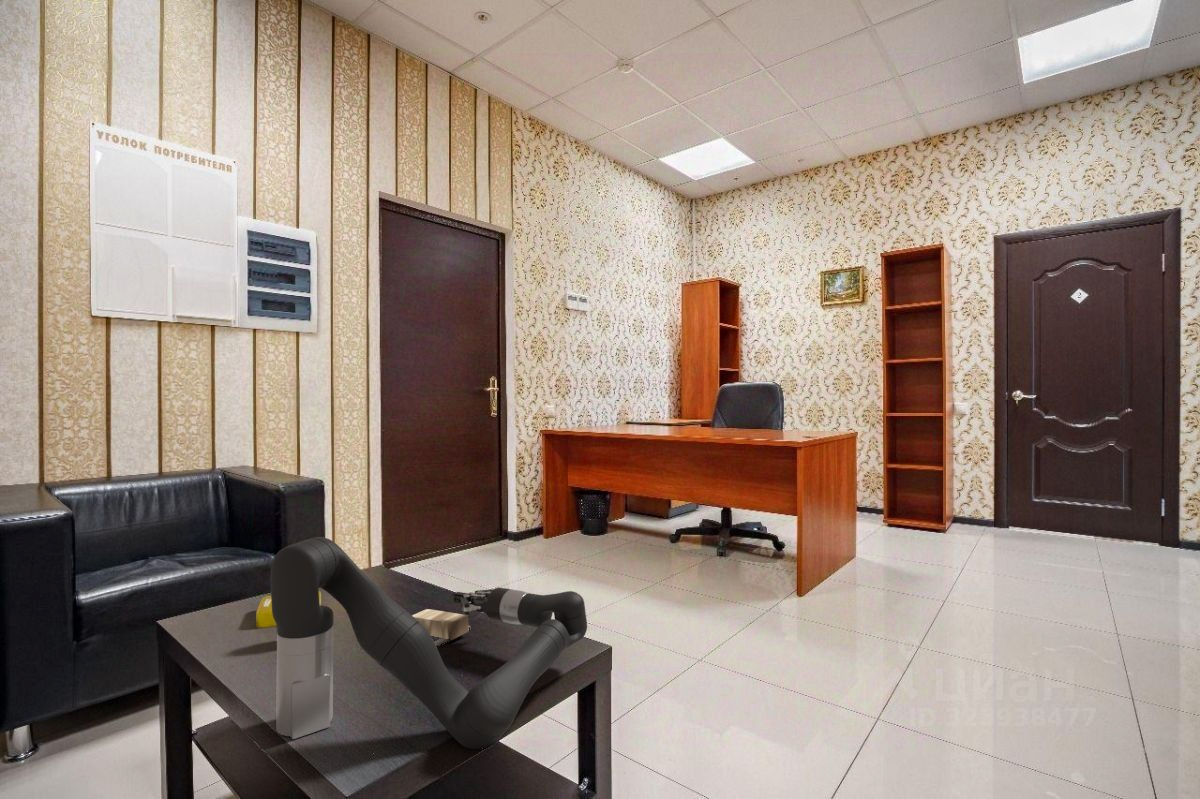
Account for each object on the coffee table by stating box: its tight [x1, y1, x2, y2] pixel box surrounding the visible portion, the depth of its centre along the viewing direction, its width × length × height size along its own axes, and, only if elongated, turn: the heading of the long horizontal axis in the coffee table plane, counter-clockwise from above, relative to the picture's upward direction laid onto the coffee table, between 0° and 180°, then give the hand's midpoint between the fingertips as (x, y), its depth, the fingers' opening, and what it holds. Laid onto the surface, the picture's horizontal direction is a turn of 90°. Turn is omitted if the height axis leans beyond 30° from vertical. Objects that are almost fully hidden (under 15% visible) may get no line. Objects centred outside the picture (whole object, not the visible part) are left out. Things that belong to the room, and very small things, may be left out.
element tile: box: [255, 590, 322, 629], centre depth 158 cm, size 15×15×5 cm
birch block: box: [411, 608, 470, 641], centre depth 145 cm, size 4×6×14 cm
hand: (454, 596), depth 143 cm, fingers closed
